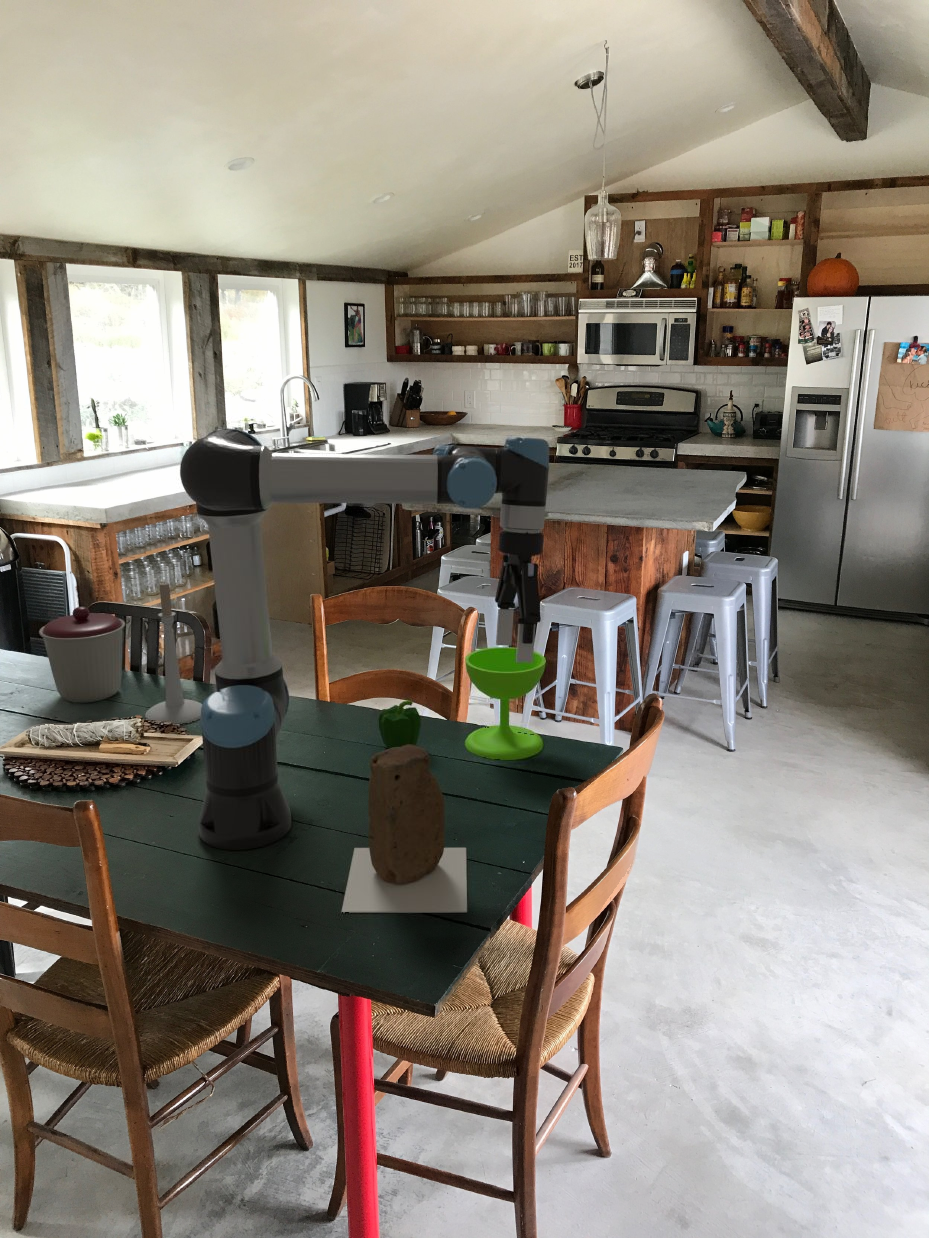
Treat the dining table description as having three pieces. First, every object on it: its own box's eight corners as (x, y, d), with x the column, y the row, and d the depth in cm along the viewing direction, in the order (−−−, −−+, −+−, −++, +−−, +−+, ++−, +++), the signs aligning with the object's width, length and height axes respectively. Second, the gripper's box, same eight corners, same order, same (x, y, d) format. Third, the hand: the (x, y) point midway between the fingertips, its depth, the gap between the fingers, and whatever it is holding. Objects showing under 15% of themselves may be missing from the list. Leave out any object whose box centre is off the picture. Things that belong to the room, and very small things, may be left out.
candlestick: (133, 723, 208) (119, 587, 199) (164, 702, 220) (152, 572, 211) (188, 728, 205) (176, 590, 197) (216, 706, 217) (206, 575, 208)
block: (387, 891, 144) (384, 768, 139) (365, 869, 150) (361, 750, 145) (450, 872, 150) (450, 752, 144) (427, 850, 156) (425, 735, 150)
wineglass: (492, 722, 208) (493, 642, 203) (558, 739, 199) (560, 656, 194) (449, 747, 195) (448, 662, 190) (517, 767, 187) (518, 678, 182)
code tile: (341, 912, 140) (341, 911, 139) (354, 849, 157) (354, 847, 157) (466, 912, 140) (466, 910, 140) (466, 848, 157) (466, 847, 157)
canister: (140, 680, 233) (132, 596, 227) (119, 708, 216) (109, 617, 210) (63, 682, 232) (52, 597, 226) (36, 710, 214) (23, 619, 209)
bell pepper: (373, 753, 193) (371, 706, 190) (387, 737, 200) (386, 692, 197) (413, 758, 190) (412, 710, 188) (426, 742, 198) (425, 696, 195)
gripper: (566, 538, 153) (556, 669, 157) (523, 524, 177) (515, 638, 181) (520, 536, 151) (511, 669, 155) (483, 523, 175) (476, 638, 179)
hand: (513, 653), depth 168 cm, fingers open, 13 cm apart
